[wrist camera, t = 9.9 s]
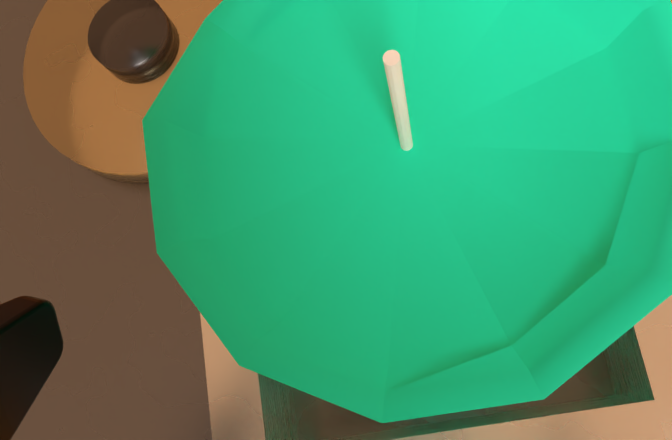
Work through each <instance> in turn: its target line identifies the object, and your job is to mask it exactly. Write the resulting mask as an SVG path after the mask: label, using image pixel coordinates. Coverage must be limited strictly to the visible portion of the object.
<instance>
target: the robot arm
mask: <svg viewBox="0 0 672 440" xmlns="http://www.w3.org/2000/svg"><path fill="white" fill-rule="evenodd" d="M62 351H63V338H62V334H61V330H60V326H59V323H58V319H57V315H56V311H55V308H54V306H53V304H52V303H51V302H50V301H48V300H45V299H40V298H36V297H32V296H20V297H17V298H14V299H12V300H9V301H7V302H4V303H2V304H0V440H11V438H12V437H13V435H14V434H15V432H16V430H17V429H18V427H19V425H20V424H21V422H22V420H23V419H24V417H25V415H26V414H27V412H28V410H29V409H30V407H31V406H32V404H33V402H34V401H35V399H36V397H37V396H38V394H39V392H40V391H41V389H42V387H43V386H44V384H45V382H46V381H47V379H48V378H49V376H50V374H51V373H52V371H53V369H54V368H55V366H56V364H57V363H58V361H59V359H60V357H61V354H62Z"/></svg>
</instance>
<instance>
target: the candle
mask: <svg viewBox="0 0 672 440" xmlns="http://www.w3.org/2000/svg"><path fill="white" fill-rule="evenodd" d="M142 124H143V133H144V142H145V151H146V160H147V169H148V178H149V188H150V197H151V206H152V215H153V224H154V233H155V242H156V251H157V254H158V255H159V257H160V258H161V259H162V261H163V262H164V263H165V265H166V266H167V268H168V269H169V270H170V272H171V273H172V274H173V276H174V277H175V279H176V280H177V281H178V283H179V284H180V285H181V287H182V288H183V290H184V291H185V292H186V294H187V295H188V296H189V298H190V299H191V300H192V302H193V303H194V305H195V306H196V307H197V309H198V310H199V311H200V313H201V314H202V316H203V317H204V318H205V320H206V321H207V322H208V324H209V325H210V327H211V328H212V329H213V331H214V332H215V333H216V335H217V336H218V337H219V339H220V340H221V342H222V343H223V344H224V346H225V347H226V348H227V350H228V351H229V353H230V354H231V355H232V357H233V358H234V359H235V361H236V362H237V364H238V365H239V366H241V367H244V368H246V369H249V370H251V371H254V372H256V373H258V374H261V375H263V376H266V377H268V378H271V379H273V380H276V381H278V382H281V383H283V384H286V385H288V386H291V387H293V388H296V389H298V390H301V391H303V392H306V393H308V394H310V395H313V396H315V397H318V398H320V399H323V400H325V401H328V402H330V403H333V404H335V405H338V406H340V407H343V408H345V409H348V410H350V411H353V412H355V413H358V414H360V415H363V416H365V417H367V418H370V419H372V420H375V421H377V422H380V423H388V422H395V421H401V420H408V419H415V418H422V417H429V416H435V415H442V414H449V413H456V412H462V411H469V410H476V409H483V408H490V407H496V406H503V405H510V404H517V403H523V402H530V401H537V400H544V399H545V398H547V397H548V396H549V395H550V394H551V393H553V392H554V391H555V390H556V389H558V388H559V387H560V386H561V385H562V384H564V383H565V382H566V381H567V380H568V379H570V378H571V377H572V376H573V375H575V374H576V373H577V372H578V371H579V370H581V369H582V368H583V367H584V366H586V365H587V364H588V363H589V362H590V361H592V360H593V359H594V358H595V357H596V356H598V355H599V354H600V353H601V352H603V351H604V350H605V349H606V348H607V347H609V346H610V345H611V344H612V343H614V342H615V341H616V340H617V339H618V338H620V337H621V336H622V335H623V334H624V333H626V332H627V331H628V330H629V329H631V328H632V327H633V326H634V325H635V324H637V323H638V322H639V321H640V320H642V319H643V318H644V317H645V316H646V315H648V314H649V313H650V312H651V311H652V310H654V309H655V308H656V307H657V306H659V305H660V304H661V303H662V302H663V301H665V300H666V299H667V298H668V297H670V296H671V295H672V4H671V1H670V0H223V1H222V2H221V3H220V4H219V5H218V6H217V7H216V8H215V9H214V10H213V11H212V12H211V13H210V14H209V15H208V16H207V17H206V18H205V20H204V21H203V23H202V24H201V26H200V28H199V29H198V31H197V32H196V34H195V36H194V37H193V39H192V41H191V42H190V44H189V45H188V47H187V49H186V50H185V52H184V53H183V55H182V57H181V58H180V60H179V62H178V63H177V65H176V66H175V68H174V70H173V71H172V73H171V74H170V76H169V78H168V79H167V81H166V83H165V84H164V86H163V87H162V89H161V91H160V92H159V94H158V95H157V97H156V99H155V100H154V102H153V104H152V105H151V107H150V108H149V110H148V112H147V113H146V115H145V116H144V118H143V120H142Z"/></svg>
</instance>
